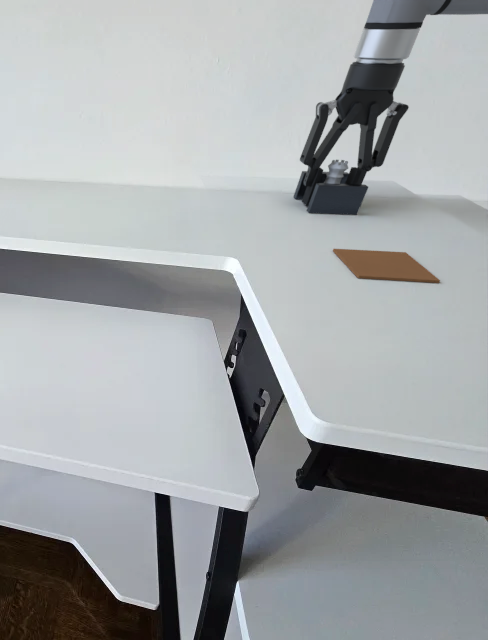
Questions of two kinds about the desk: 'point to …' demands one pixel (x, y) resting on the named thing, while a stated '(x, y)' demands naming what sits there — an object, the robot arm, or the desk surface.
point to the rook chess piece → (336, 171)
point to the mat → (384, 265)
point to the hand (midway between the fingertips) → (324, 204)
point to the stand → (333, 196)
